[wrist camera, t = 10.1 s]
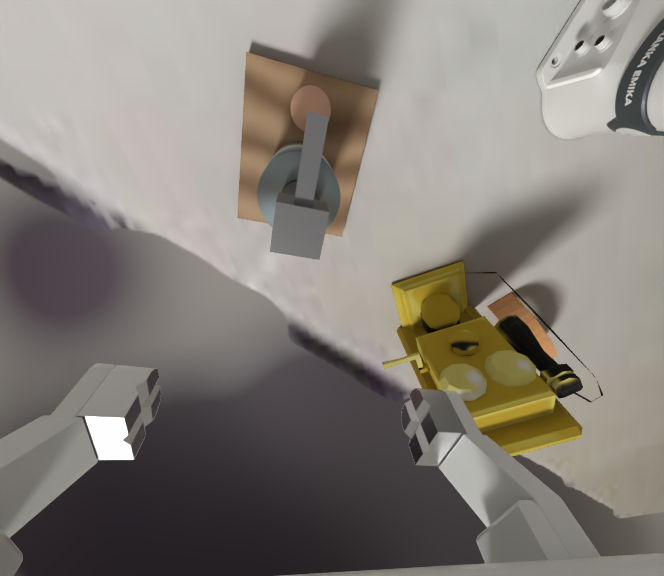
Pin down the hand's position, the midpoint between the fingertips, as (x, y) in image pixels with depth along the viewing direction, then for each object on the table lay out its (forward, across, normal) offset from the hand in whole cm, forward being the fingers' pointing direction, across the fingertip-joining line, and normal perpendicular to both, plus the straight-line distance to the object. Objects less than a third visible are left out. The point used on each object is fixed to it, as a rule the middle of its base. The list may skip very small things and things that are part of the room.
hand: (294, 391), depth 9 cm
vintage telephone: (+43, -33, +19) cm, 58 cm away
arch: (+43, -56, +24) cm, 75 cm away
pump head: (+23, 0, -3) cm, 23 cm away
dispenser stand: (+43, 0, -2) cm, 43 cm away
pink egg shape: (+41, 0, -8) cm, 42 cm away
